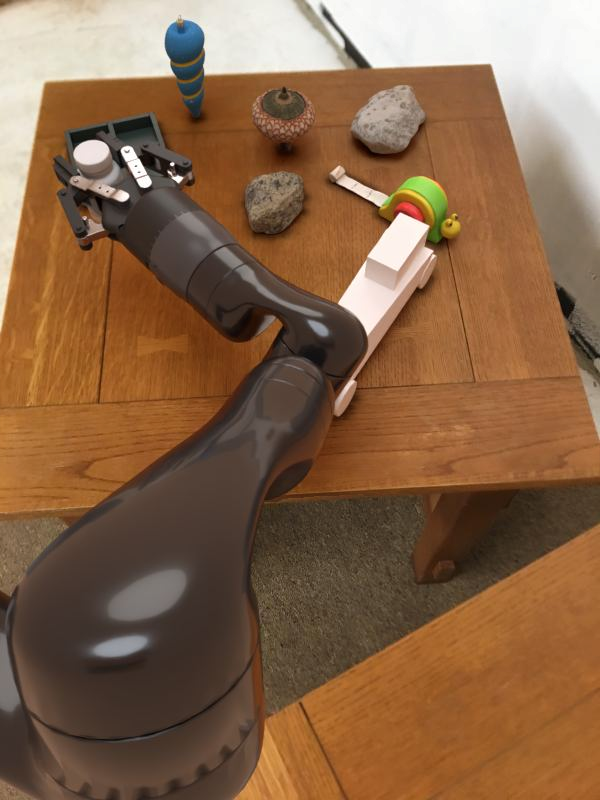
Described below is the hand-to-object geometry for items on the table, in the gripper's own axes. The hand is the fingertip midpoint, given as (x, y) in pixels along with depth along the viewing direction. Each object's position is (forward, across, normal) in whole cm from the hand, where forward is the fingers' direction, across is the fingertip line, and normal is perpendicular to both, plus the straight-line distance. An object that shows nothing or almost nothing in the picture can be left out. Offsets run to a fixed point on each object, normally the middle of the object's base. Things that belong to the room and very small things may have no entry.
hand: (80, 151), depth 65 cm
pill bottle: (-3, 0, +6) cm, 7 cm away
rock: (-5, -20, +18) cm, 27 cm away
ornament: (+15, -24, +18) cm, 33 cm away
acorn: (+2, -29, +18) cm, 34 cm away
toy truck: (-27, -15, +18) cm, 36 cm away
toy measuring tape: (-16, -32, +18) cm, 40 cm away
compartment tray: (+14, -10, +18) cm, 25 cm away
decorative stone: (-6, -42, +18) cm, 46 cm away
